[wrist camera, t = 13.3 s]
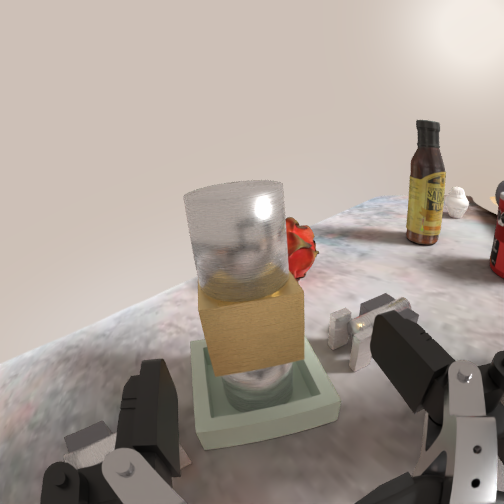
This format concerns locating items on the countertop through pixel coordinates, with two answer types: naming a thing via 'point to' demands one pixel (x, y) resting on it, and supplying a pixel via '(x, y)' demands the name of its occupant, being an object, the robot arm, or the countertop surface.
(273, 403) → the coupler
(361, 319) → the shaft
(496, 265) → the canned food
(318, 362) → the mint green tray
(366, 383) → the countertop surface
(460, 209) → the muffin
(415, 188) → the sauce bottle
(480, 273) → the countertop surface
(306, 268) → the dragon fruit
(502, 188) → the bluetooth speaker
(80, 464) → the shaft
